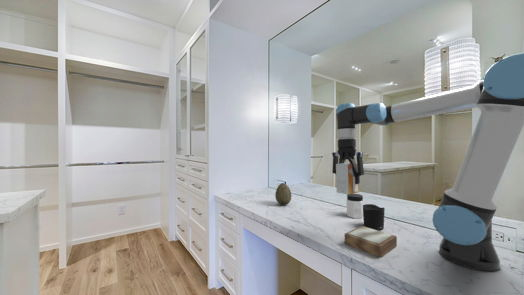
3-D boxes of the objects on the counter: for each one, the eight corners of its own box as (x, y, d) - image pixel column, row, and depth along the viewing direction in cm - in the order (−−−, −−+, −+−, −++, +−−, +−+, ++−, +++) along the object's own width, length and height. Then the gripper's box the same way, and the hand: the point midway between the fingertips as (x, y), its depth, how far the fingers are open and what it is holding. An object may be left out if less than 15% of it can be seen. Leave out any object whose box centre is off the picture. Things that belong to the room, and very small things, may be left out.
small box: (348, 194, 89) (347, 164, 89) (336, 192, 94) (335, 163, 95) (359, 192, 94) (359, 163, 94) (347, 190, 99) (346, 162, 99)
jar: (349, 218, 116) (349, 196, 116) (344, 213, 124) (344, 193, 124) (366, 218, 115) (366, 196, 115) (360, 214, 123) (360, 193, 123)
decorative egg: (276, 202, 149) (275, 181, 149) (291, 203, 148) (291, 181, 148) (274, 207, 139) (274, 184, 139) (291, 207, 137) (291, 184, 137)
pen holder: (364, 229, 101) (363, 208, 101) (362, 222, 110) (361, 203, 109) (386, 232, 97) (386, 210, 97) (382, 224, 106) (382, 205, 106)
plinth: (396, 246, 84) (396, 235, 84) (380, 257, 75) (380, 245, 75) (362, 234, 95) (361, 225, 95) (344, 243, 86) (344, 233, 86)
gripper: (372, 137, 89) (374, 192, 89) (332, 140, 104) (334, 186, 104) (363, 137, 84) (365, 195, 84) (323, 139, 100) (324, 188, 100)
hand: (347, 190), depth 94 cm, fingers closed on small box, 6 cm apart
